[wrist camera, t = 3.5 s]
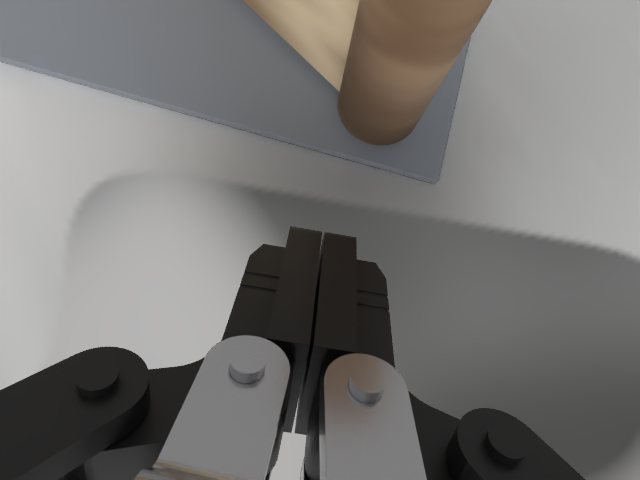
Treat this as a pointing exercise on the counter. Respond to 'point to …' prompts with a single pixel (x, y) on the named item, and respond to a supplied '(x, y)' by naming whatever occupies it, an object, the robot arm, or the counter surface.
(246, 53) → the board
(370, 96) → the plank with upright peg
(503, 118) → the counter surface
